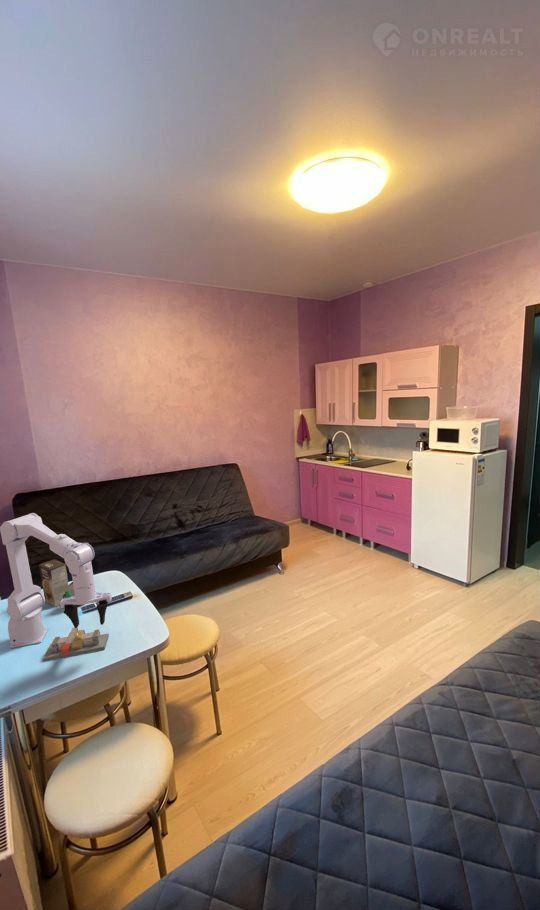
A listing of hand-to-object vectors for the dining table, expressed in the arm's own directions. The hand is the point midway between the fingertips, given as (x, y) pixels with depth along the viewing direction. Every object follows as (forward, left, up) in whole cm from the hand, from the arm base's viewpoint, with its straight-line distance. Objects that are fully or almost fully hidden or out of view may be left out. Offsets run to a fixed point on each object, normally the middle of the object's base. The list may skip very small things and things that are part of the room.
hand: (89, 624), depth 119 cm
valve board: (-6, +5, -10) cm, 13 cm away
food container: (-11, +36, -11) cm, 40 cm away
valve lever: (-6, 0, -5) cm, 8 cm away
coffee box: (-22, +41, -11) cm, 48 cm away
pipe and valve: (-6, +5, -10) cm, 13 cm away
